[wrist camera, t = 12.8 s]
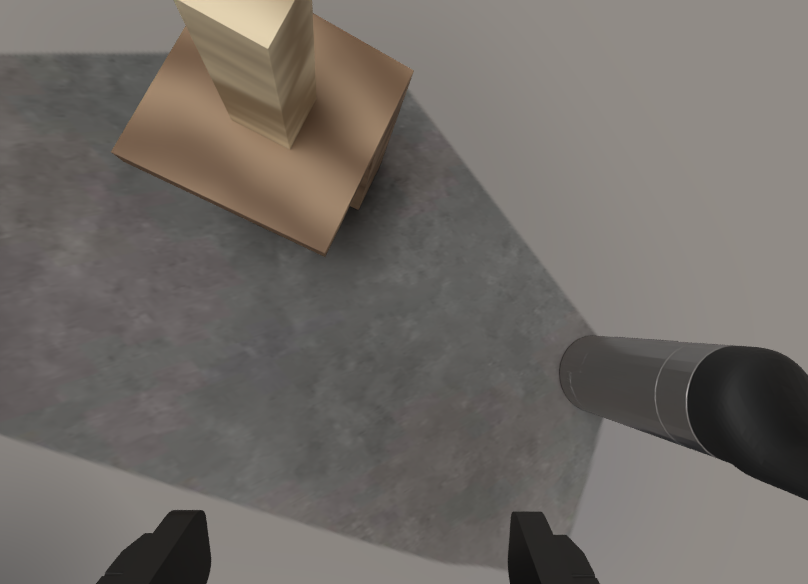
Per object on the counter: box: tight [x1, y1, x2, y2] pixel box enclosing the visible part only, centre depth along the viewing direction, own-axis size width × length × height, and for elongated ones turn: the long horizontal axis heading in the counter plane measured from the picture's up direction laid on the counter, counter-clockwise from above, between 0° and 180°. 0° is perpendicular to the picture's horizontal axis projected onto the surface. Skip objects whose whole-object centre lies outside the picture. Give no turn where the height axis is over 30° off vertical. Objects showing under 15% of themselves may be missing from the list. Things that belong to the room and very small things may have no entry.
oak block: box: [174, 0, 316, 150], centre depth 21 cm, size 4×4×10 cm
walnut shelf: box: [111, 13, 414, 257], centre depth 35 cm, size 14×14×18 cm
